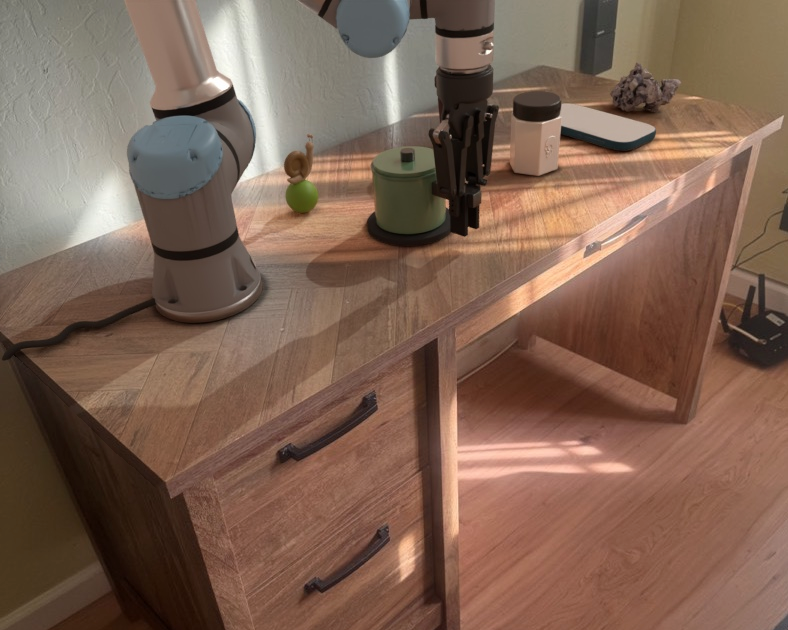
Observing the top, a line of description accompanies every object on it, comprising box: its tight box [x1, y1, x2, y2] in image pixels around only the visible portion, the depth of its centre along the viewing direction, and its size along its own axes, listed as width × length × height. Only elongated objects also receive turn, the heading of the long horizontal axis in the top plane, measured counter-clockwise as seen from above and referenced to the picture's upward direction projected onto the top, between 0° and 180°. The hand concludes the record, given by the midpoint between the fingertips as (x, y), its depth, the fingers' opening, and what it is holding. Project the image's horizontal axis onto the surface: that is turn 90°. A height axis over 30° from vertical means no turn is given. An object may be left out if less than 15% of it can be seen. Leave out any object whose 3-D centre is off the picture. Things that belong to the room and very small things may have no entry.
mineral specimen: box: [609, 61, 682, 113], centre depth 155 cm, size 12×9×10 cm
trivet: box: [366, 207, 452, 247], centre depth 122 cm, size 14×14×1 cm
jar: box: [509, 90, 562, 177], centre depth 134 cm, size 9×8×12 cm
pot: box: [369, 145, 483, 234], centre depth 116 cm, size 12×19×11 cm, turn 47°
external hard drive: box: [560, 102, 657, 152], centre depth 148 cm, size 24×12×2 cm, turn 40°
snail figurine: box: [283, 133, 319, 214], centre depth 125 cm, size 5×6×12 cm
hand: (464, 229), depth 115 cm, fingers closed on pot, 2 cm apart
